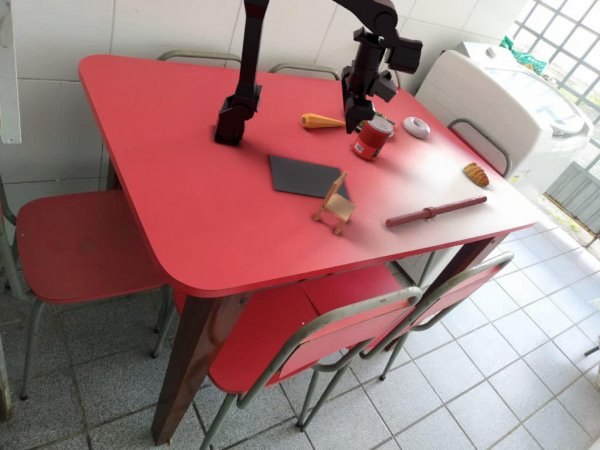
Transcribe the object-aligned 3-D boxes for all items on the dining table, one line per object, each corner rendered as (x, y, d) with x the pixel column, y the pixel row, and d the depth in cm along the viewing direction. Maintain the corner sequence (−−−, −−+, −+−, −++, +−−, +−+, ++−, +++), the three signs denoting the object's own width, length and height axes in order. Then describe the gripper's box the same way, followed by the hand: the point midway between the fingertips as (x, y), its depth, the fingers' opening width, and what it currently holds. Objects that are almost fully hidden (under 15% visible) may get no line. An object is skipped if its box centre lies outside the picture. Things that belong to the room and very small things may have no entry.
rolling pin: (388, 232, 101) (395, 224, 99) (381, 223, 102) (387, 214, 100) (484, 205, 127) (491, 198, 125) (477, 198, 129) (483, 191, 127)
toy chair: (313, 219, 94) (333, 182, 87) (325, 205, 99) (345, 170, 92) (337, 234, 94) (359, 199, 86) (348, 220, 99) (369, 185, 91)
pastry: (490, 187, 138) (497, 178, 135) (478, 189, 134) (486, 180, 131) (471, 168, 142) (478, 160, 140) (459, 170, 138) (466, 161, 136)
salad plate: (385, 114, 147) (391, 103, 144) (402, 144, 136) (410, 133, 133) (337, 103, 140) (343, 91, 137) (352, 134, 128) (359, 122, 125)
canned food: (374, 165, 121) (393, 135, 113) (350, 154, 120) (367, 123, 113) (376, 152, 126) (393, 122, 119) (352, 141, 126) (369, 111, 118)
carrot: (301, 130, 120) (310, 122, 117) (296, 117, 121) (305, 109, 118) (347, 134, 133) (357, 127, 129) (343, 122, 134) (352, 114, 130)
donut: (404, 119, 151) (399, 129, 143) (408, 111, 148) (404, 121, 141) (427, 132, 150) (424, 143, 142) (433, 125, 148) (429, 135, 140)
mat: (274, 190, 97) (275, 189, 96) (269, 155, 105) (269, 155, 105) (349, 202, 104) (349, 201, 103) (338, 169, 112) (338, 168, 112)
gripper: (409, 92, 84) (383, 151, 96) (395, 50, 97) (373, 107, 108) (357, 82, 83) (337, 143, 94) (350, 41, 95) (333, 100, 107)
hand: (347, 122), depth 101 cm, fingers open, 9 cm apart
